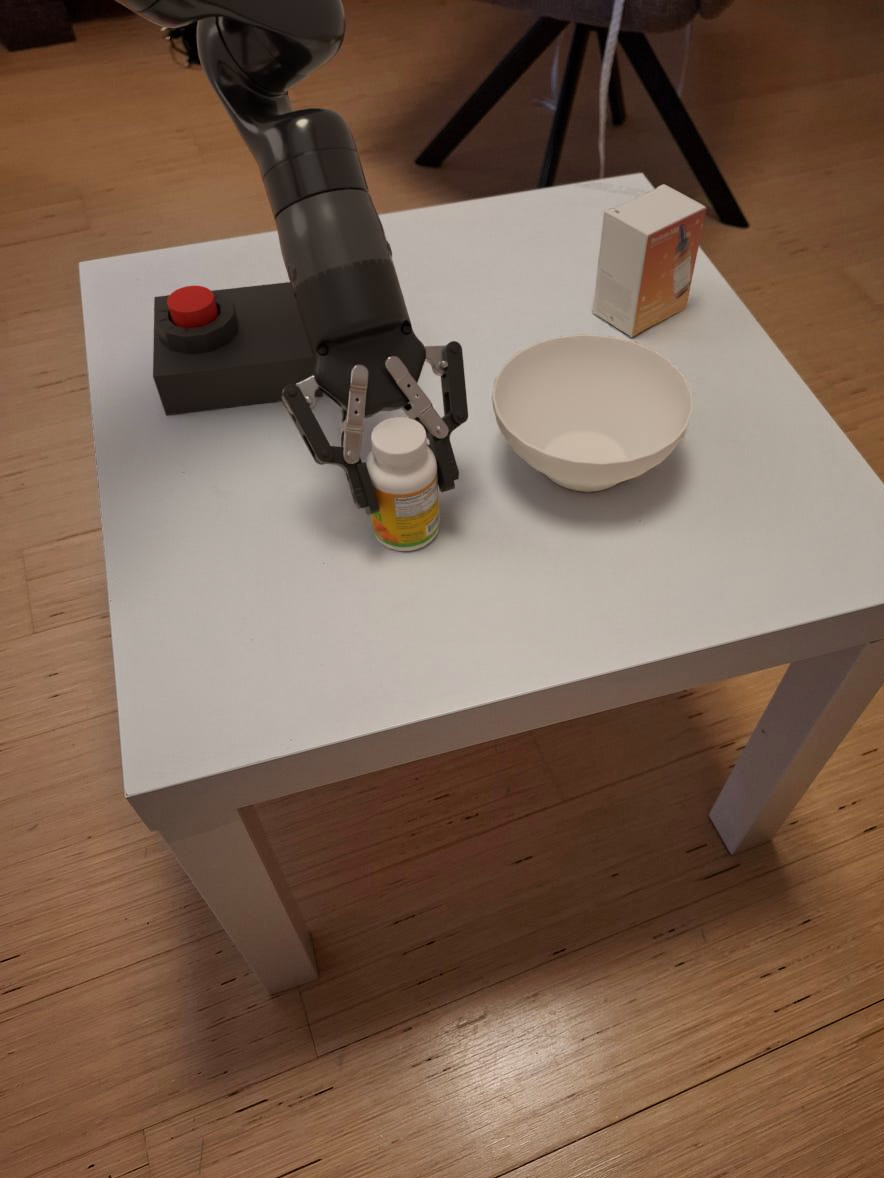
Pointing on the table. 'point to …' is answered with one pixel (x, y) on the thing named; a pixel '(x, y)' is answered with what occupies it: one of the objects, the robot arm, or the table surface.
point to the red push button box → (232, 351)
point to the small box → (647, 259)
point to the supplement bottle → (403, 485)
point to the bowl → (591, 409)
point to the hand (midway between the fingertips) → (410, 500)
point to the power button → (192, 306)
